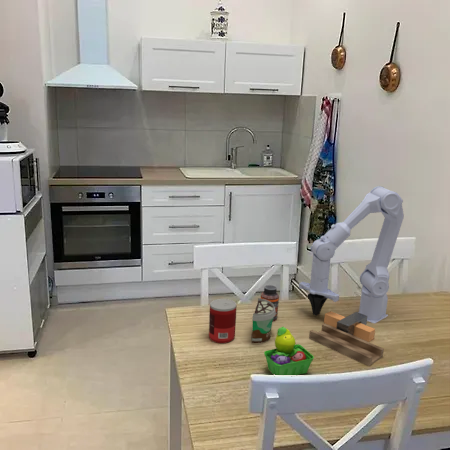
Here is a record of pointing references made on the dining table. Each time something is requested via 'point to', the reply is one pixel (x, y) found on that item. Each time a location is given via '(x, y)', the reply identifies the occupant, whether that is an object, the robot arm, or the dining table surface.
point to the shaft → (359, 329)
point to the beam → (351, 322)
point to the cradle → (347, 344)
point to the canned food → (222, 320)
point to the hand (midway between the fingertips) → (316, 314)
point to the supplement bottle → (271, 297)
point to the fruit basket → (287, 355)
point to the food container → (262, 321)
